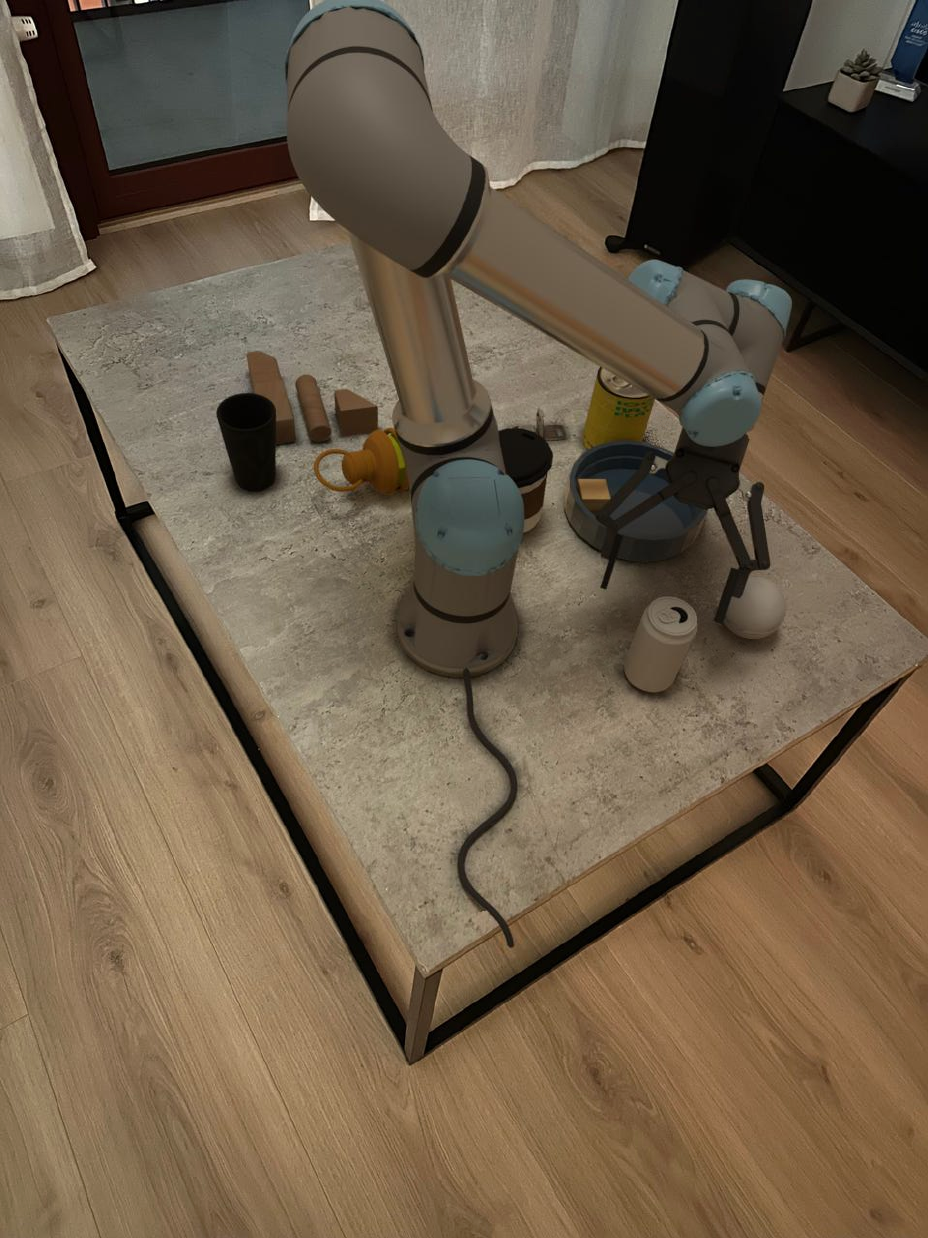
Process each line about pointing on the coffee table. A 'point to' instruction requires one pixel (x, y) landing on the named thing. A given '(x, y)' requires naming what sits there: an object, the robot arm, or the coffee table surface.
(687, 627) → the beverage can
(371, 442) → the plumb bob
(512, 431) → the coffee cup
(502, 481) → the robot arm
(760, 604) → the bath bomb
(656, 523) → the bowl
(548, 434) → the strap clip
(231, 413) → the cup
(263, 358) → the wooden block set
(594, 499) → the block
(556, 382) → the coffee table surface
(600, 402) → the beverage can
